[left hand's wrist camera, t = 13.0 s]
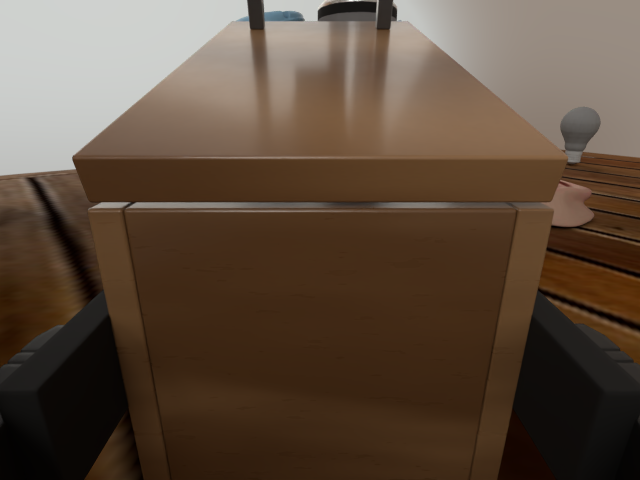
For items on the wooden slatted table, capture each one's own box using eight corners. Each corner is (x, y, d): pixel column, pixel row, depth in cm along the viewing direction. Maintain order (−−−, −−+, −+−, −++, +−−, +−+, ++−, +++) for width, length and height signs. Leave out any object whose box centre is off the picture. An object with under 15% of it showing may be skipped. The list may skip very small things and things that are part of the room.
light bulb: (560, 166, 71) (573, 107, 68) (547, 160, 77) (558, 106, 74) (597, 167, 71) (611, 107, 67) (581, 161, 76) (593, 106, 73)
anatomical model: (614, 191, 36) (480, 180, 41) (603, 232, 38) (475, 217, 42) (590, 167, 48) (487, 161, 52) (582, 200, 49) (483, 191, 54)
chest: (249, 287, 28) (238, 132, 24) (391, 287, 28) (401, 132, 24) (155, 543, 12) (85, 209, 8) (484, 543, 12) (555, 209, 8)
